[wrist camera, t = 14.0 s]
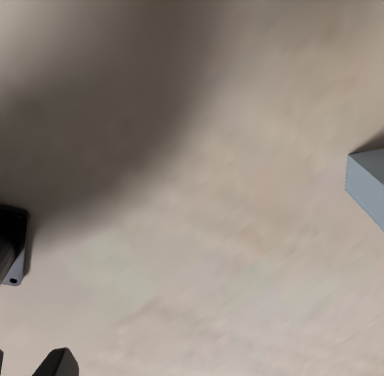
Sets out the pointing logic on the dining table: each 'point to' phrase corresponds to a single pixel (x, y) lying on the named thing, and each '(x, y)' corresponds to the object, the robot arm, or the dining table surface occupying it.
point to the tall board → (367, 182)
